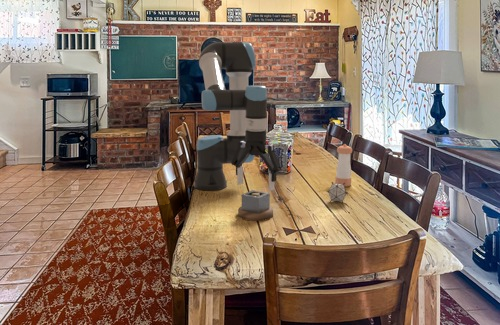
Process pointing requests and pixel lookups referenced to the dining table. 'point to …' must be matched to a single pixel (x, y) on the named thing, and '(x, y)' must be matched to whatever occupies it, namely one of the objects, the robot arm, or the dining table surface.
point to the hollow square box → (255, 202)
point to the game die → (337, 192)
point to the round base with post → (254, 216)
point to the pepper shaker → (343, 166)
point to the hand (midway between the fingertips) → (255, 187)
